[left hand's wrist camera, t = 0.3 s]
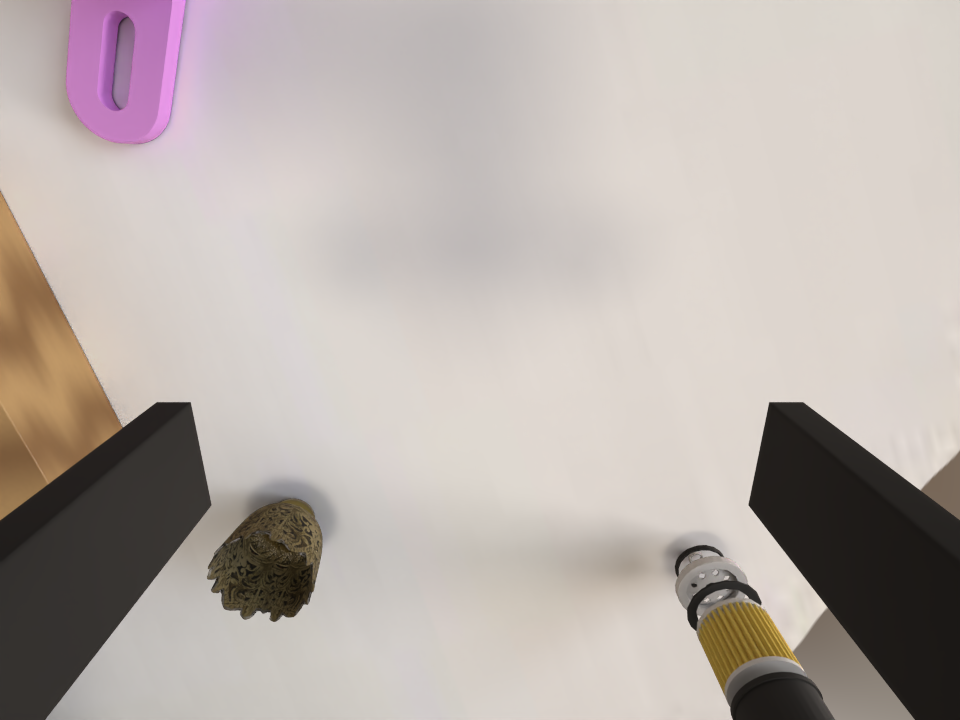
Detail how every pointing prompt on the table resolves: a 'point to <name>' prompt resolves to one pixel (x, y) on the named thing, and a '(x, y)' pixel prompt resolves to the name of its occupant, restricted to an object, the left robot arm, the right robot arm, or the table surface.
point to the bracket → (157, 39)
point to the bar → (40, 379)
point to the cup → (269, 561)
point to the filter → (744, 643)
